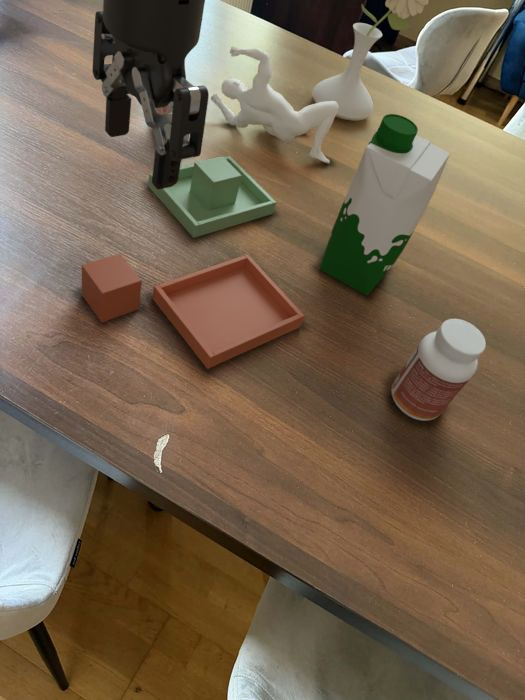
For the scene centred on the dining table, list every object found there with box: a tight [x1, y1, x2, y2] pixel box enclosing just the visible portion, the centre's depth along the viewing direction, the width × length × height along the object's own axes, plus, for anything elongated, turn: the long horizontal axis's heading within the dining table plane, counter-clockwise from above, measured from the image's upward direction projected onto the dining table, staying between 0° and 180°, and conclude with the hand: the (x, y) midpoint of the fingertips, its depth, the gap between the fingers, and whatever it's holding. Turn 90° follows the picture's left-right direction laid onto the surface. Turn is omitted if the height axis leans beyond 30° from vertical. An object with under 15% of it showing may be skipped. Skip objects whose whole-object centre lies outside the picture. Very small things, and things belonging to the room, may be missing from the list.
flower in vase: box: [311, 0, 430, 122], centre depth 94 cm, size 13×11×25 cm
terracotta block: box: [81, 253, 143, 323], centre depth 61 cm, size 4×4×4 cm
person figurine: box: [210, 46, 339, 164], centre depth 88 cm, size 13×13×18 cm
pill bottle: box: [391, 318, 487, 422], centre depth 60 cm, size 6×6×11 cm
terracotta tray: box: [152, 253, 306, 370], centre depth 65 cm, size 13×11×2 cm
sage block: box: [190, 155, 242, 211], centre depth 76 cm, size 4×4×4 cm
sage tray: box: [147, 155, 277, 239], centre depth 78 cm, size 13×11×2 cm
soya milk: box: [319, 113, 451, 297], centre depth 69 cm, size 9×9×20 cm
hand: (139, 159), depth 54 cm, fingers open, 8 cm apart
